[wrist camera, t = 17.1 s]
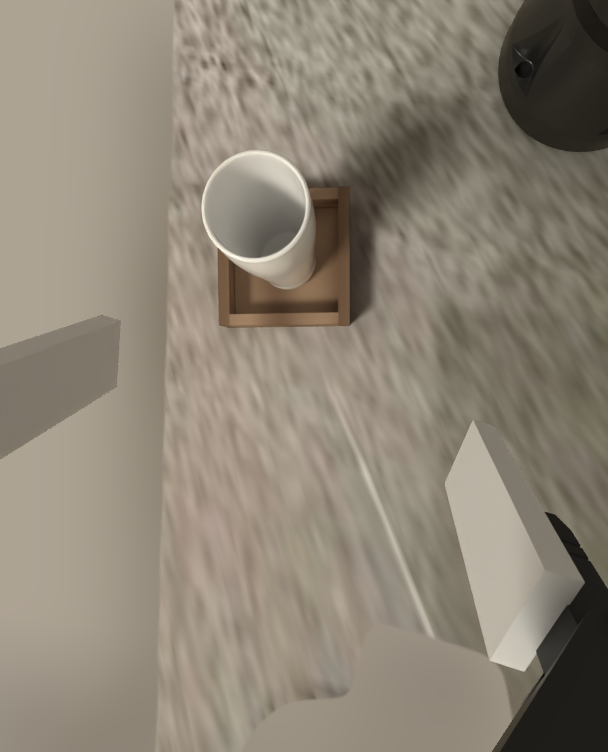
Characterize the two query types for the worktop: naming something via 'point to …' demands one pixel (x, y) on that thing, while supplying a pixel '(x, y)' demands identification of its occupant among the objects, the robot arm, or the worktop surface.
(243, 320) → the walnut tray
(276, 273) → the white tumbler cup
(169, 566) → the worktop surface
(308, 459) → the worktop surface
